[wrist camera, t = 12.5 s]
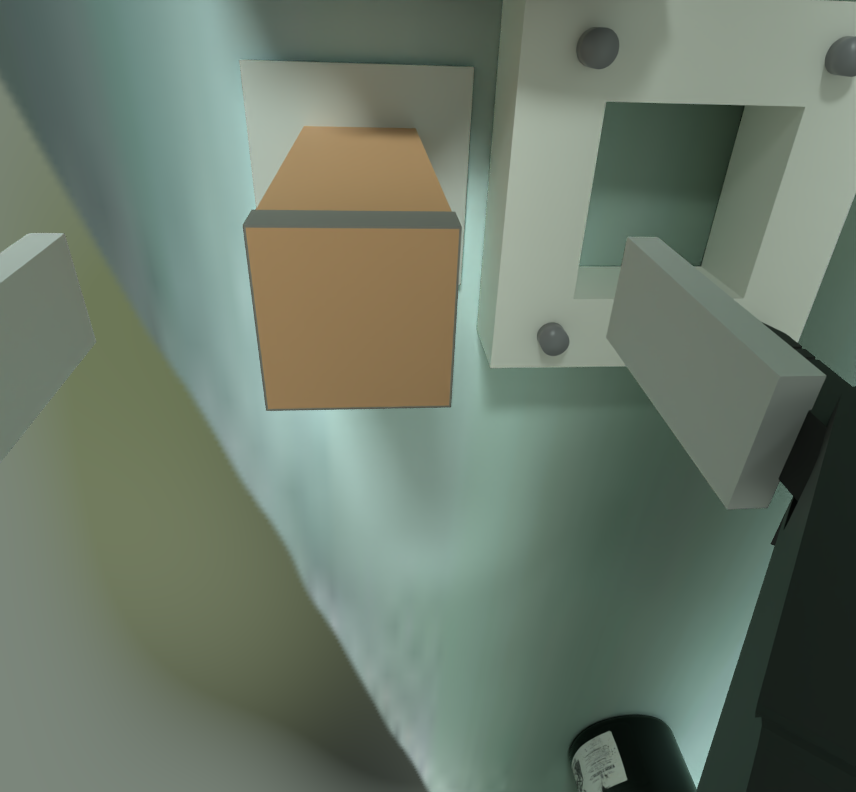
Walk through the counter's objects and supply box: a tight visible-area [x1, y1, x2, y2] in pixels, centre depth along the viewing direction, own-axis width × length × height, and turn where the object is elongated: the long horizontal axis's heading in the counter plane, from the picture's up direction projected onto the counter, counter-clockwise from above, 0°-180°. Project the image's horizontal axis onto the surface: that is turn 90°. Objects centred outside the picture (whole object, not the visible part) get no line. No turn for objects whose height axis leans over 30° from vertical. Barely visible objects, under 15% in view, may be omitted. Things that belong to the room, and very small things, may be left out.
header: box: [477, 0, 856, 368], centre depth 25 cm, size 14×14×5 cm
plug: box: [243, 126, 462, 411], centre depth 20 cm, size 5×5×14 cm
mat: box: [239, 60, 474, 285], centre depth 26 cm, size 9×9×1 cm
